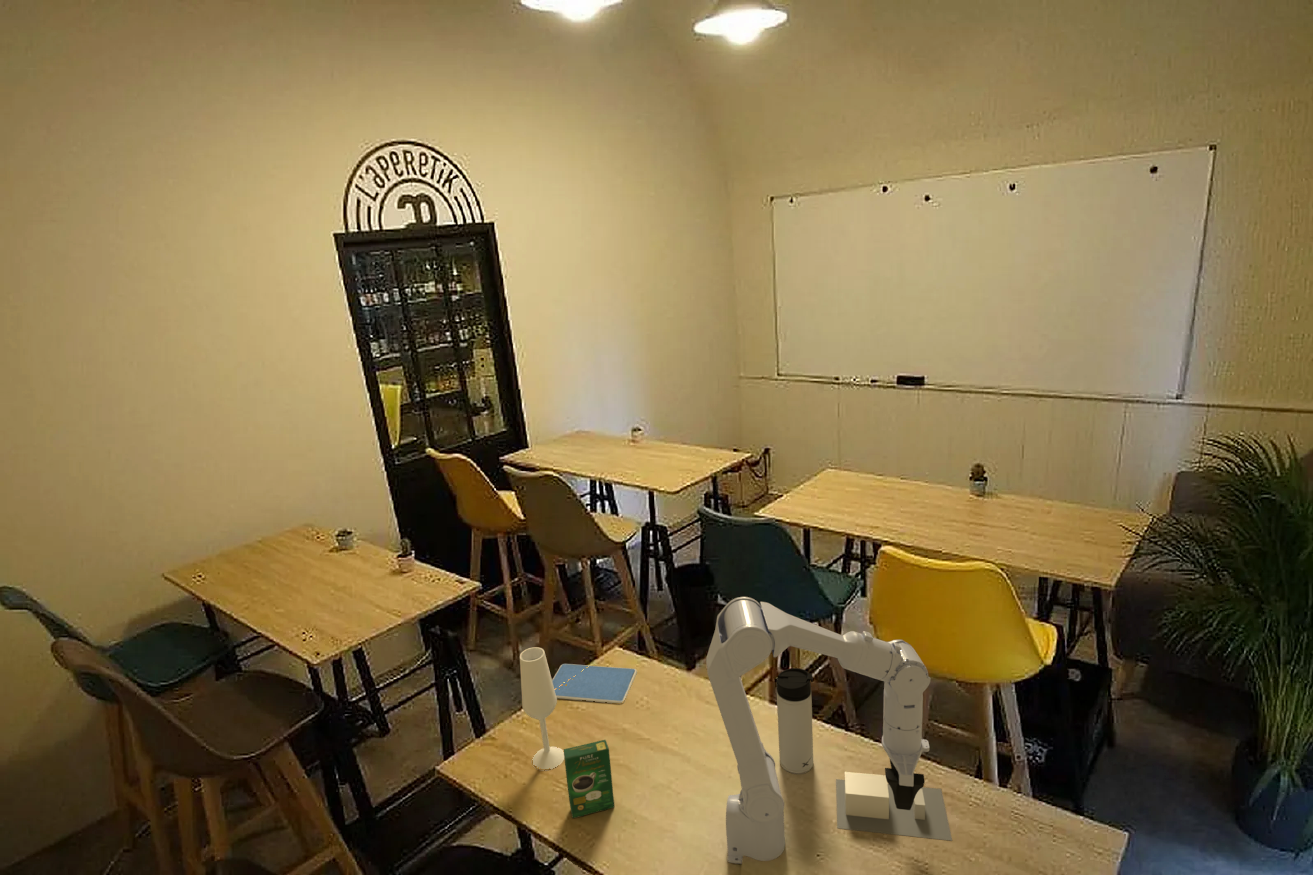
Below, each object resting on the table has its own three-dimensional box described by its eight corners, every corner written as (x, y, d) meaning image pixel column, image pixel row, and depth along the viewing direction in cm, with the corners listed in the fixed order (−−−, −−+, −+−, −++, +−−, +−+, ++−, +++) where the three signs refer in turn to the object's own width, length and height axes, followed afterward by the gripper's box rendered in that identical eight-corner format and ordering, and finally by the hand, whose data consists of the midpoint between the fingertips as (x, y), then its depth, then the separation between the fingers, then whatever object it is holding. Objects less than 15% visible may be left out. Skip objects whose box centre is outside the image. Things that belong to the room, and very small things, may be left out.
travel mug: (815, 779, 129) (813, 687, 123) (779, 777, 130) (775, 685, 125) (815, 755, 135) (812, 665, 129) (780, 753, 136) (776, 664, 130)
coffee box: (613, 796, 129) (605, 737, 125) (616, 808, 126) (609, 747, 123) (570, 808, 127) (561, 748, 124) (572, 820, 125) (563, 759, 121)
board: (837, 832, 117) (836, 813, 116) (835, 783, 127) (835, 765, 126) (952, 845, 113) (952, 825, 112) (941, 793, 123) (941, 774, 122)
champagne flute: (526, 768, 138) (508, 663, 131) (539, 745, 144) (523, 643, 137) (557, 772, 136) (541, 665, 130) (569, 748, 142) (554, 645, 136)
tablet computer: (638, 672, 166) (637, 667, 166) (624, 706, 154) (623, 701, 154) (562, 667, 171) (561, 662, 170) (542, 700, 159) (542, 695, 159)
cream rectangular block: (888, 819, 118) (889, 797, 116) (845, 814, 119) (845, 793, 118) (886, 796, 122) (886, 775, 121) (844, 792, 124) (844, 771, 123)
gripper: (936, 753, 101) (933, 828, 105) (924, 691, 115) (921, 759, 119) (885, 748, 103) (884, 822, 107) (879, 687, 116) (878, 755, 120)
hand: (901, 789), depth 113 cm, fingers open, 7 cm apart
